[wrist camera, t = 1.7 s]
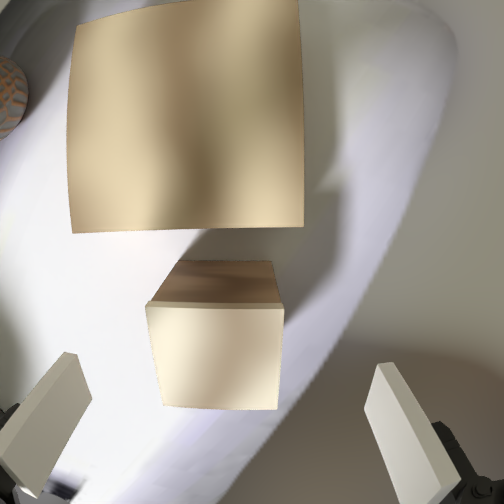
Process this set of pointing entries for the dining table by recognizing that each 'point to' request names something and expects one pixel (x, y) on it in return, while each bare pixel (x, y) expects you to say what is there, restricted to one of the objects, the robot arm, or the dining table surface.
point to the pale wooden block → (218, 335)
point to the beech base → (187, 118)
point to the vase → (11, 96)
